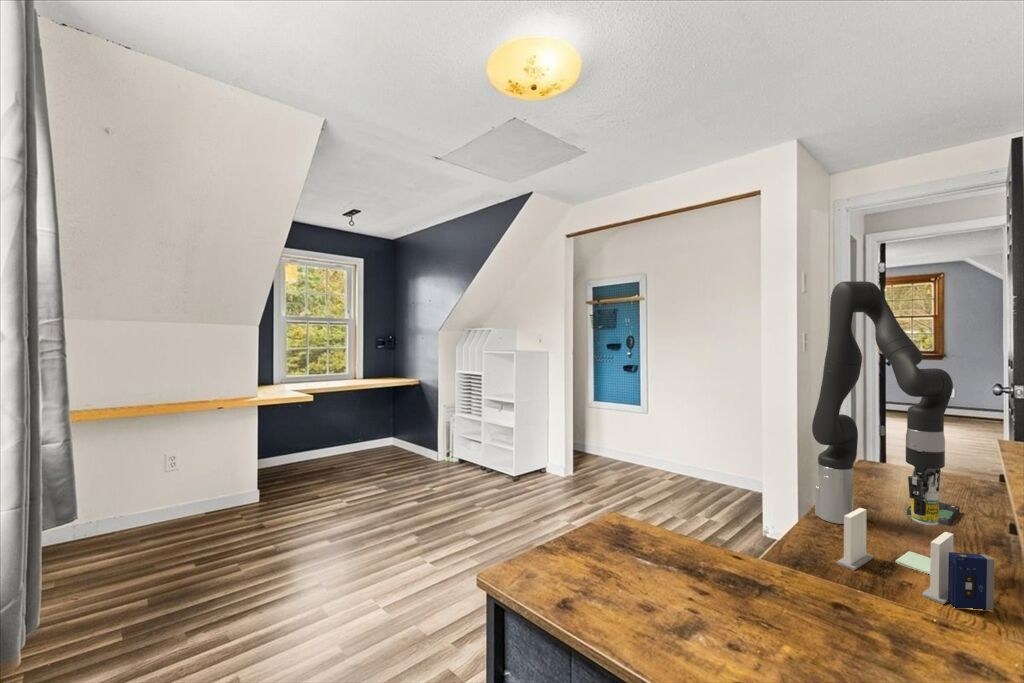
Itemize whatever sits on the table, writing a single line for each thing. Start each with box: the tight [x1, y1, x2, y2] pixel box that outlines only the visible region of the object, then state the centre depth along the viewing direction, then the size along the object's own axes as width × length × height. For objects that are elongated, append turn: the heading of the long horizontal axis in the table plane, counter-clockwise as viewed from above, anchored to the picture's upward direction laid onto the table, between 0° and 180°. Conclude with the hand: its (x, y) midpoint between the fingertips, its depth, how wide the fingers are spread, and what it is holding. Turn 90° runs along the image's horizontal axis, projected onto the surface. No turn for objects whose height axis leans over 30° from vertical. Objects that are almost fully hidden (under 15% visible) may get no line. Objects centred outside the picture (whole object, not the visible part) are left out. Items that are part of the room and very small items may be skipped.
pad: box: [894, 550, 931, 576], centre depth 121 cm, size 9×9×1 cm
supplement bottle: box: [910, 484, 940, 526], centre depth 120 cm, size 5×5×10 cm
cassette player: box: [947, 551, 995, 612], centre depth 103 cm, size 7×2×12 cm, turn 78°
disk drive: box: [906, 501, 961, 527], centre depth 151 cm, size 10×3×15 cm
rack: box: [836, 507, 955, 605], centre depth 116 cm, size 22×11×13 cm, turn 32°
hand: (924, 511), depth 120 cm, fingers closed on supplement bottle, 5 cm apart
